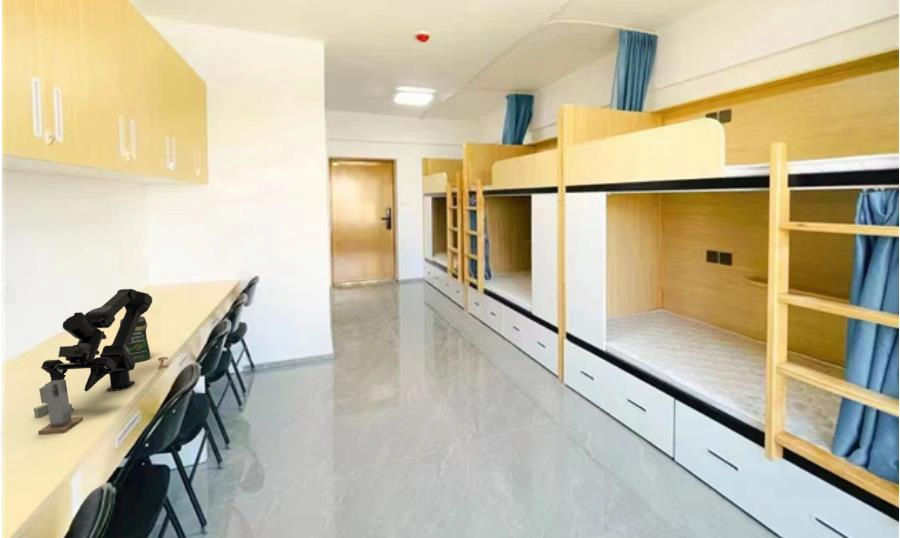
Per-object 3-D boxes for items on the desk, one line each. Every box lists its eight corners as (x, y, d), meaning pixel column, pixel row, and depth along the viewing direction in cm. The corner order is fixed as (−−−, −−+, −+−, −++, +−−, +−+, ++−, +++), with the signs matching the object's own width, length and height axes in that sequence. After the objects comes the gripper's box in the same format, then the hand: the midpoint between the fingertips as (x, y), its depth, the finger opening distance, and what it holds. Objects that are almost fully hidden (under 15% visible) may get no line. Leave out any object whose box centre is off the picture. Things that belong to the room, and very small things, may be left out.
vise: (55, 408, 148) (54, 400, 147) (76, 411, 146) (74, 402, 145) (35, 417, 142) (33, 408, 142) (55, 420, 140) (54, 410, 140)
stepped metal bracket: (59, 421, 137) (53, 380, 135) (71, 420, 137) (65, 379, 135) (43, 432, 131) (36, 388, 129) (56, 431, 131) (49, 388, 129)
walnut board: (58, 421, 139) (58, 418, 139) (83, 419, 140) (83, 416, 140) (38, 434, 131) (38, 431, 131) (65, 432, 132) (64, 429, 132)
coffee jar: (124, 365, 188) (118, 321, 185) (122, 360, 194) (117, 317, 191) (152, 359, 194) (147, 317, 191) (149, 355, 200) (145, 313, 197)
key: (170, 369, 184) (174, 358, 197) (170, 367, 184) (174, 355, 197) (153, 370, 181) (158, 359, 195) (153, 368, 181) (158, 357, 195)
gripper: (40, 335, 141) (17, 383, 132) (105, 332, 143) (87, 379, 134) (62, 351, 150) (42, 397, 141) (123, 348, 152) (107, 393, 143)
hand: (69, 391), depth 139 cm, fingers open, 9 cm apart
